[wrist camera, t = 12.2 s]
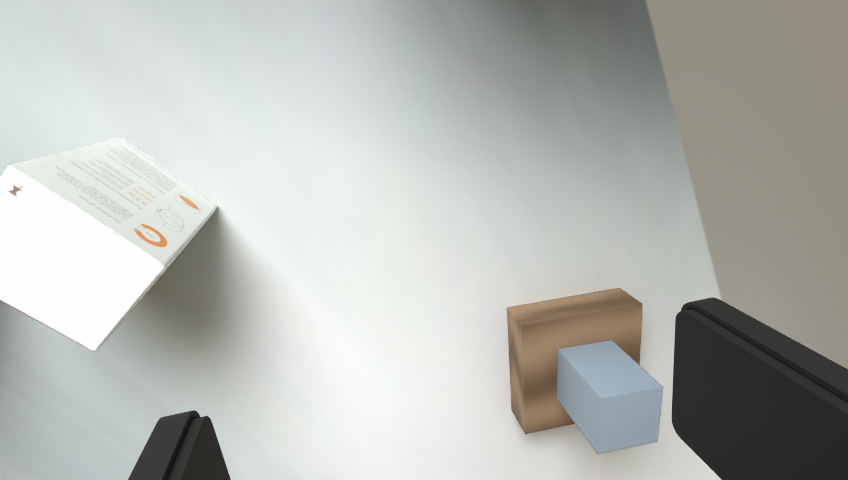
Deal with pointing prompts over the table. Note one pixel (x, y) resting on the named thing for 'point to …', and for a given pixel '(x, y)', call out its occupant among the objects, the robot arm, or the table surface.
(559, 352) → the slate block
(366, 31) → the table surface
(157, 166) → the small box
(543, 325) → the walnut block
